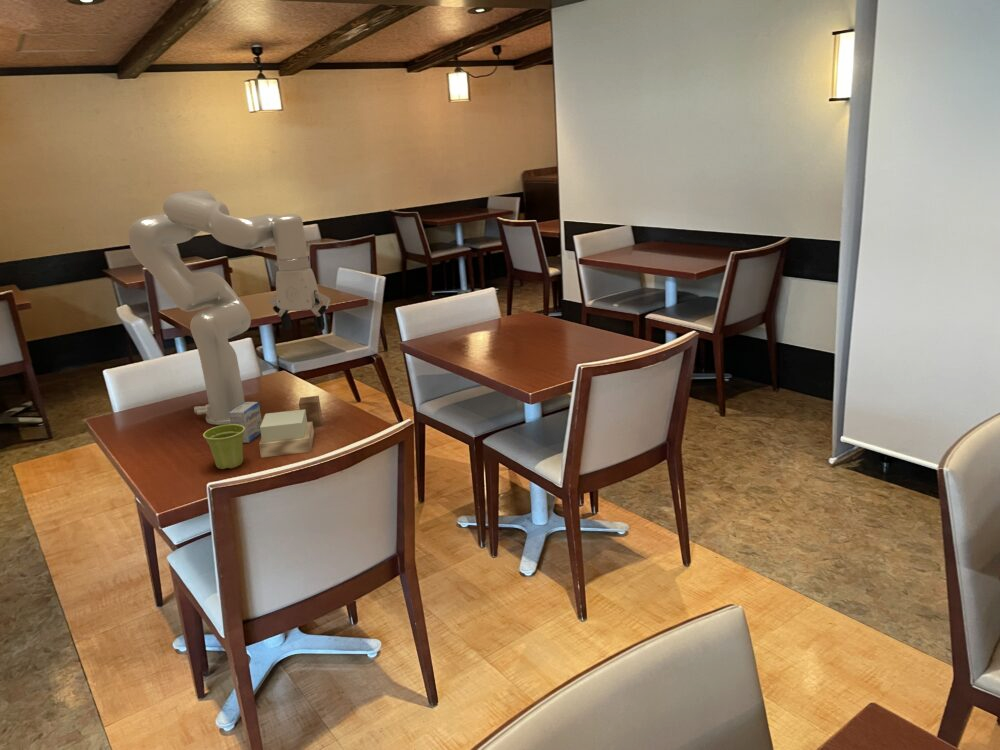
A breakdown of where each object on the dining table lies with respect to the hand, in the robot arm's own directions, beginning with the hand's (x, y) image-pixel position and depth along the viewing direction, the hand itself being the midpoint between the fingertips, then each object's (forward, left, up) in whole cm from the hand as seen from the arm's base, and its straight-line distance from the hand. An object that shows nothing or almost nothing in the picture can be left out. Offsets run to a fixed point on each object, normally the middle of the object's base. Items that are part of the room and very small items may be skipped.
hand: (304, 330), depth 194 cm
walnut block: (-2, +2, -27) cm, 27 cm away
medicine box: (-18, -3, -27) cm, 32 cm away
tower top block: (-7, -12, -23) cm, 27 cm away
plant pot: (-20, -20, -27) cm, 39 cm away
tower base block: (-7, -12, -27) cm, 30 cm away
